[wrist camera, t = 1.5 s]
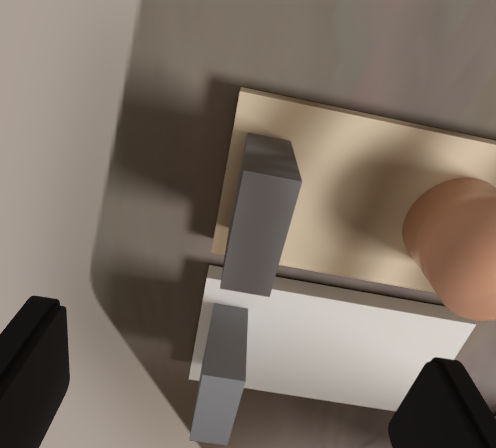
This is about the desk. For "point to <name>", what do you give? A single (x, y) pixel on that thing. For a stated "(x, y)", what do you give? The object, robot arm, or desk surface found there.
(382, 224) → the beige stand with post
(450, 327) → the white board gray block
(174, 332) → the desk surface
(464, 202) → the peach rounded lump
